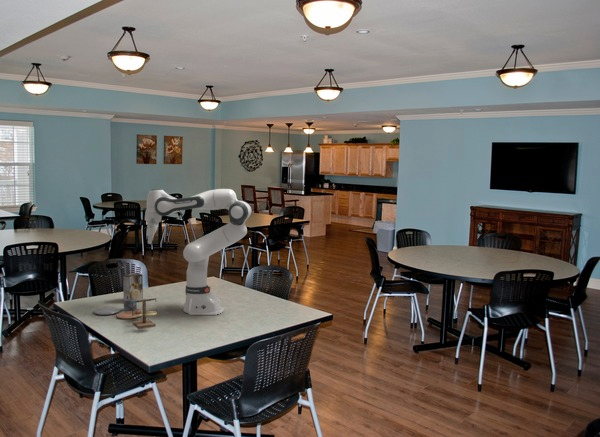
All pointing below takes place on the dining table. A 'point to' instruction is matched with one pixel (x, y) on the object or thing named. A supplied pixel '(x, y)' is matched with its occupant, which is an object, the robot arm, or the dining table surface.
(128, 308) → the block
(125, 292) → the coffee box
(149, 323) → the balance
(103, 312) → the grey dish
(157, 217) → the robot arm
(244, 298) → the dining table surface
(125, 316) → the terracotta dish
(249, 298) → the dining table surface
